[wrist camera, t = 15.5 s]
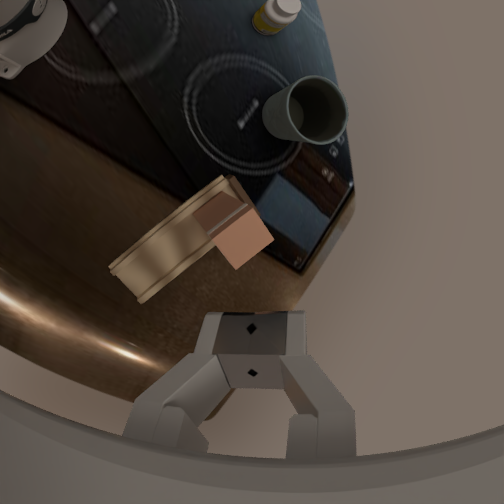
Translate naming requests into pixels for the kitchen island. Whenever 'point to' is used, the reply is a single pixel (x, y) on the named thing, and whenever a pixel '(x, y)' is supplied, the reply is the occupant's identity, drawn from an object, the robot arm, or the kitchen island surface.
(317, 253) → the kitchen island surface
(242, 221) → the block
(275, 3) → the supplement bottle
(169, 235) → the chute
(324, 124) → the green cup
